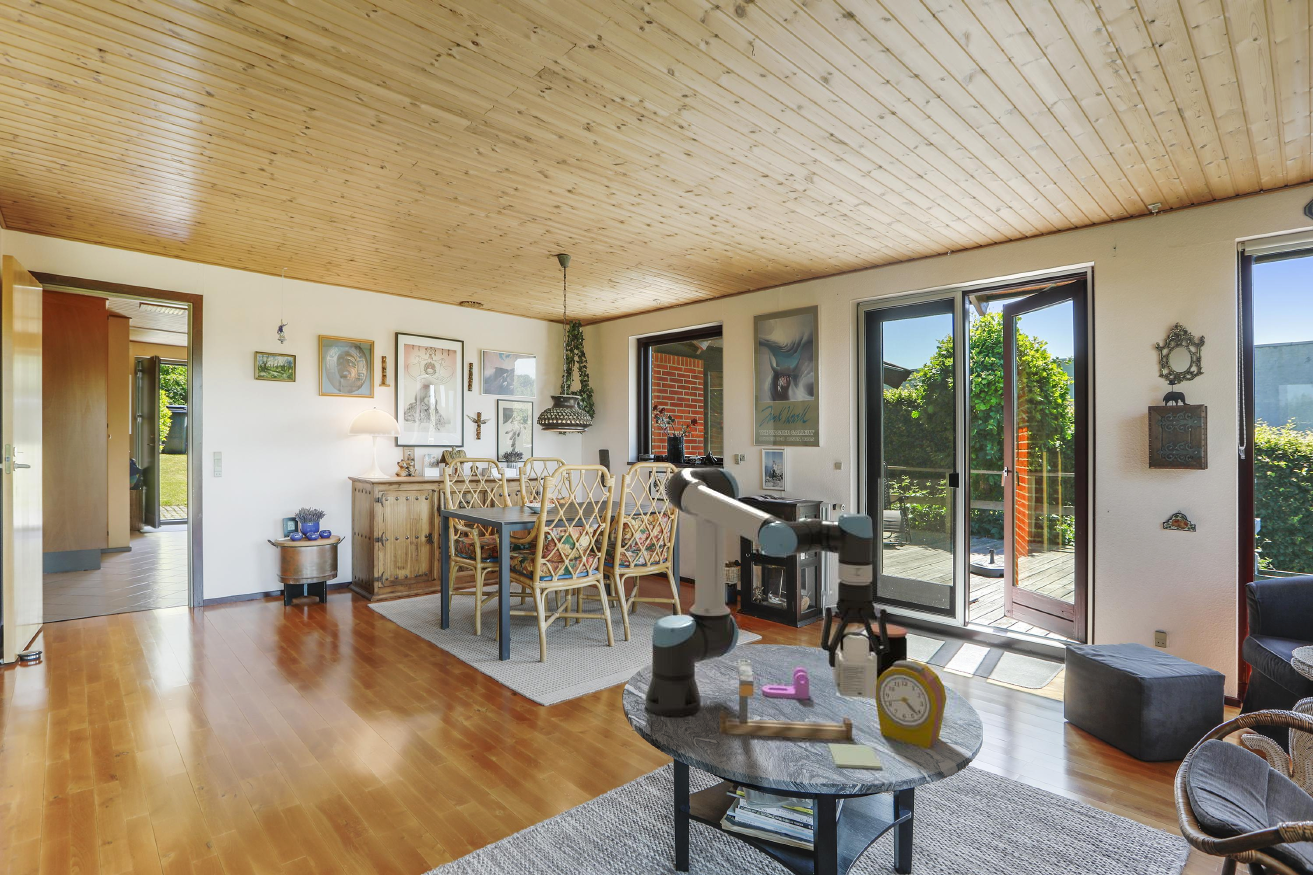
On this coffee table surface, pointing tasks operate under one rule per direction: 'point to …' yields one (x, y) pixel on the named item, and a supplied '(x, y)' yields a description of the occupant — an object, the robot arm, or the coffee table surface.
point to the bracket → (790, 687)
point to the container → (856, 667)
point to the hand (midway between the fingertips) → (854, 681)
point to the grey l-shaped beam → (744, 687)
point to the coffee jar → (891, 646)
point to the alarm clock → (910, 703)
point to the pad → (854, 756)
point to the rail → (787, 728)
